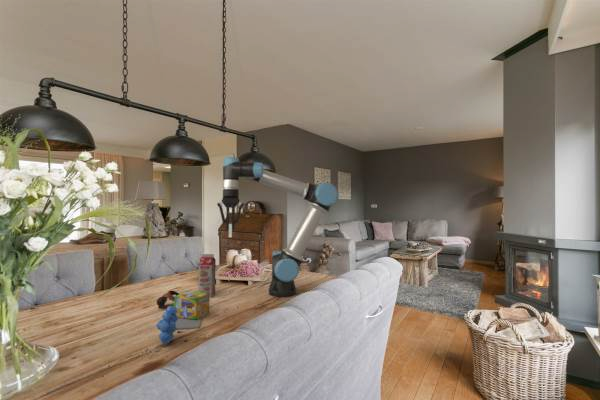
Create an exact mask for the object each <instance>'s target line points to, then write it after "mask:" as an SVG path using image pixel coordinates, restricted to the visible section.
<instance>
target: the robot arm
mask: <svg viewBox="0 0 600 400" xmlns="http://www.w3.org/2000/svg"><path fill="white" fill-rule="evenodd" d="M222 165H223V166H222V188H223V189H222V199H221V201H220V202H217V204H216V205H217V206H218V208H219V212H220V217H221V220H222V221H221V222H222V223H225V225H226V231H228V238H232V237H233V231H235V224H236V223H239V219H240V215H241V212H242V208H243V206H244V203H243V202H242V201H241V200H240V198H239V182H240V179H239V178H246V180H249V181H253V182H256V183H259V184H263V185H265V186H269V187H272V188H275V189H277V190H281V191H284V192H287V193H290V194H293V195H296V196H299V197H301V199H302V200H305V201H307V204H308V207H307V209H306V211H305V213H304V215H303V217H302V219H301V221H300V223H299V224H298V226H297V228H296V230H295V231H294V234H293V236H292V237H291V240H290V242H289V243H288V245H287V247H286V248H282V250H274V251H272V255H271V261H272V262H271V281H270V284H269V287H268V295H270V296H272V297H275V298H276V297H277V298H279V297H280V298H286V297H293V296H295V295H297V288H296V287H297V286H296V284H295V279H296V278H297V277H298V275H299V273H300V267H301V265H302V263H303V262H304V260H303V255H304V252H305V250H306V248H307V247H308V245H309V243H310V241H311V239H312V237H313V235H314V233H315V231H316V230H317V228H318V225H319V224H320V222H321V220H322V218H323V217H324V215H325V214H328V213H329V211H330V209H331V207H332V206H333V205H334V204H335V203H336V202H337V200H338V198H339V192H338V189H337V188H336V186H335V185H334V184H332V183H330V182H321V183H319V184H316V183H315V184H314V183H310V182H306V183H305V182H303V181H299V180H296V179H293V178H290V177H287V176H285V175H281V174H278V173H275V172H272V171H269V170H266V169H264V164H263V163H262V162H257V161H256V162H252V161H251V162H250V161H247V162H246V161H240V160H239V157H233V156H226V157H224V158H223V164H222ZM223 205H224V207H225V208H226V213H224V209H223ZM237 206H238V209H237V210H238V211H237V214H236V217H235V210H236V209H235V208H236V207H237ZM230 209H231V223H230ZM224 214H226V217H225V215H224Z"/></svg>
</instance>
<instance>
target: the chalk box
mask: <svg viewBox="0 0 600 400" xmlns="http://www.w3.org/2000/svg"><path fill="white" fill-rule="evenodd" d="M174 297H175V302H174V305H172V306H173V307H175V308H176V309H177V311H178V312H177V313H176V315H177V317H178V318H185V319H193V320H198V319H200V318H202V319H203V318H204V317H205V316H207V315H208V314H210V299H211V298H210V293H203V292H198V291H193V290H188V291H185V292H181V293H179V295H174Z"/></svg>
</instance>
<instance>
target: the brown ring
mask: <svg viewBox="0 0 600 400" xmlns="http://www.w3.org/2000/svg"><path fill="white" fill-rule="evenodd" d="M179 294H180V293H179V292H177V291H175V290H168V291H167V292H165V293H164V294H163V295H162V296H160V297H158V298H157V299H156V306H157V307H158V308H157V309H159V310H160V309H164V306H165V304H166V303H167V302H168V300H169V301H172V302H174V303H175V296H176V295H179Z"/></svg>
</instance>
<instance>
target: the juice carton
mask: <svg viewBox="0 0 600 400" xmlns="http://www.w3.org/2000/svg"><path fill="white" fill-rule="evenodd" d="M214 256H215V255H214V254H213V253H201V254H200V259H199V260H198V286H197V287H198V289H197V292H203V293H210V298H209V299H212V298H213V297H214V296H215V294H216V258H215V257H214Z"/></svg>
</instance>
